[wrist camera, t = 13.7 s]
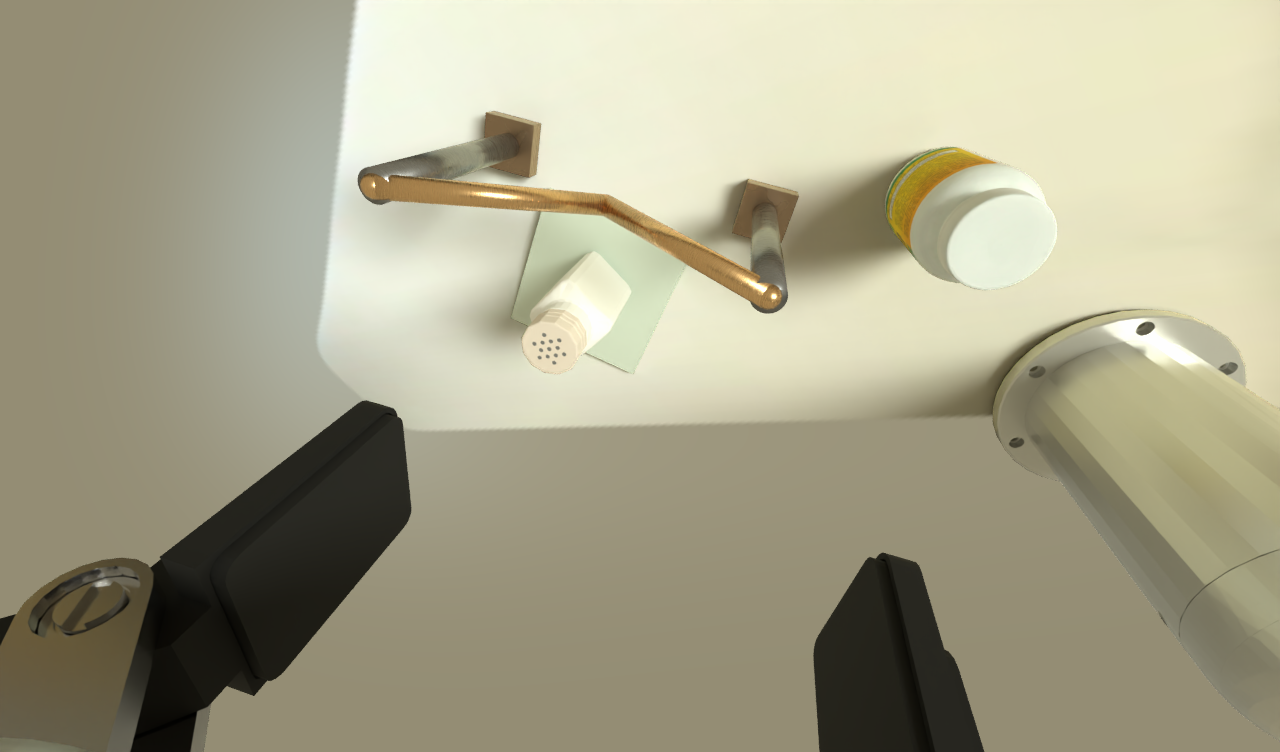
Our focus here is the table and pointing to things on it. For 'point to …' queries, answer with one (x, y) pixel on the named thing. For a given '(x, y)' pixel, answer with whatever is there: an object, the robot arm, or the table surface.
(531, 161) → the wire hurdle
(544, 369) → the salt shaker
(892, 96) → the table surface
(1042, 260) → the supplement bottle
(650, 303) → the mat
